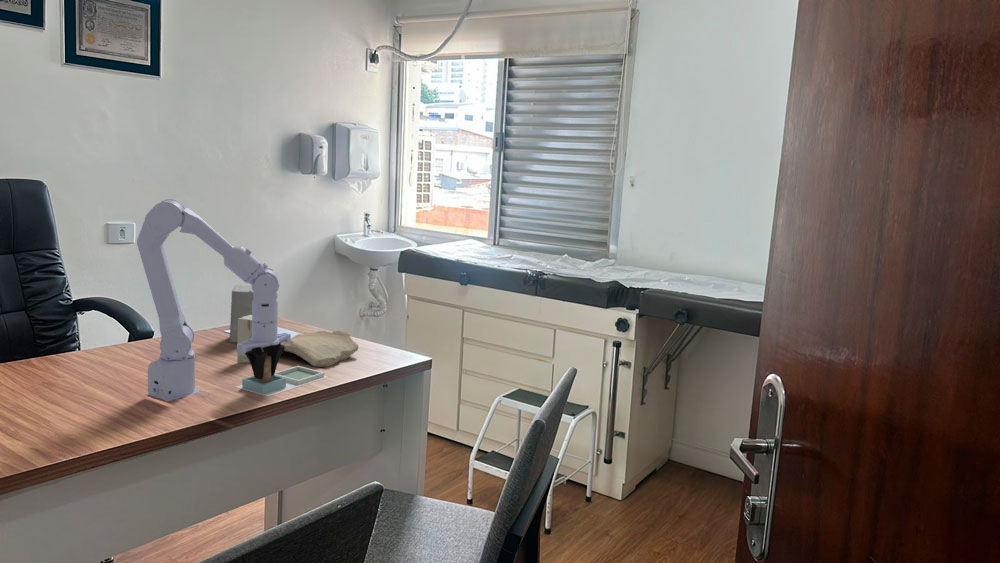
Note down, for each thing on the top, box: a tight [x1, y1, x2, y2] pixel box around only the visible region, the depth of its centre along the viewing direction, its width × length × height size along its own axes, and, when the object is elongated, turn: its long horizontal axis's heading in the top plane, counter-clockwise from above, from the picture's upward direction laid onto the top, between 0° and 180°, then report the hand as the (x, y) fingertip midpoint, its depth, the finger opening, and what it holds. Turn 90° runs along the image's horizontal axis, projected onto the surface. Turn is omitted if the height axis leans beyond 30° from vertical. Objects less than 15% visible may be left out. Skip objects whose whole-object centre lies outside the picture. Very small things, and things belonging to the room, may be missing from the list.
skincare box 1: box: [229, 284, 254, 344], centre depth 211 cm, size 8×7×16 cm
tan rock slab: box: [280, 330, 359, 368], centre depth 200 cm, size 24×8×20 cm
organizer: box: [235, 365, 329, 398], centre depth 174 cm, size 20×11×2 cm, turn 151°
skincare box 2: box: [236, 315, 263, 364], centre depth 190 cm, size 6×4×12 cm
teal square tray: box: [241, 375, 286, 394], centre depth 169 cm, size 7×7×2 cm
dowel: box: [258, 355, 271, 384], centre depth 168 cm, size 3×3×8 cm
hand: (264, 376), depth 168 cm, fingers closed on dowel, 3 cm apart
